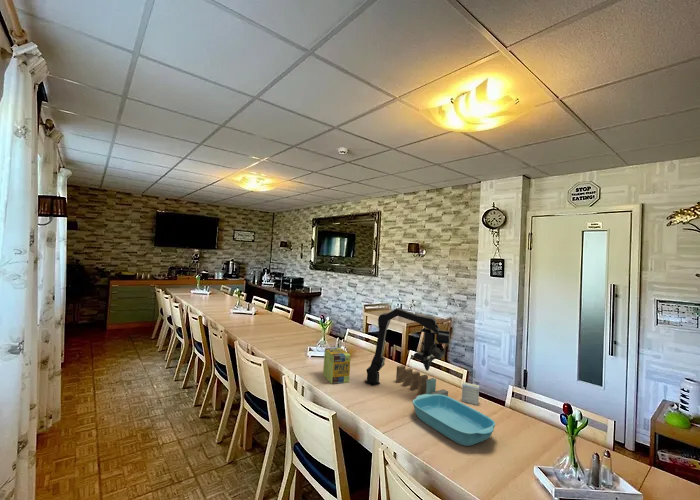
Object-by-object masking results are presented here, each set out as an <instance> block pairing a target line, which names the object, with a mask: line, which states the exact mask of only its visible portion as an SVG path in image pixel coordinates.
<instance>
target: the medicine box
mask: <svg viewBox="0 0 700 500" xmlns="http://www.w3.org/2000/svg"><path fill="white" fill-rule="evenodd" d="M461 386H462V389H461V391H462V392H461V403H467V404H471V405H476V406H479V400H480V399H479V398H480V397H479V396H480V385H479V384H474V383H469V382H465V381H464V382H463V383H462V385H461Z"/></svg>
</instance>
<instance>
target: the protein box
mask: <svg viewBox="0 0 700 500" xmlns="http://www.w3.org/2000/svg"><path fill="white" fill-rule="evenodd" d="M323 357H324V358H323V369H322V375H323V376H324V378H326V380H328V382H329V383H330V384H331V385H337V384H338V385H339V384H347V383H350V375H351V373H350V372H351V371H350V370H351V358H352V356H351V354H350V353H348V352H347V351H346V350H344V349H343V348H342V347H325V348H324V355H323Z"/></svg>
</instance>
